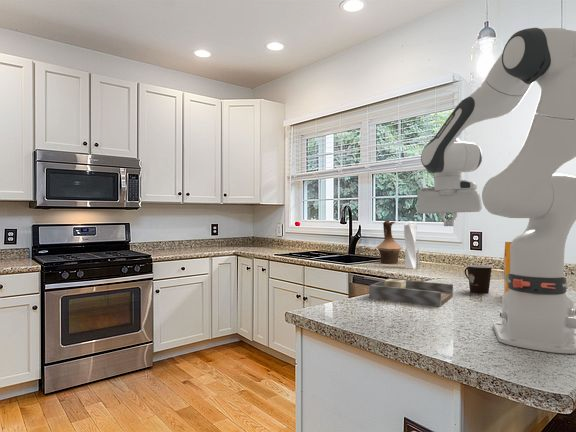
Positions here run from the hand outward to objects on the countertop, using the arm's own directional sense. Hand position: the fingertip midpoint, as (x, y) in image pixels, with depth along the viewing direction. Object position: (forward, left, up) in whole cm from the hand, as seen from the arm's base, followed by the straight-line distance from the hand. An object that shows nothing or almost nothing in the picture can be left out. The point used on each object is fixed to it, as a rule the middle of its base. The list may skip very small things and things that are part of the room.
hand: (448, 226), depth 130 cm
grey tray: (0, +13, -26) cm, 29 cm away
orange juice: (+21, -19, -26) cm, 38 cm away
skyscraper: (+86, +38, -26) cm, 97 cm away
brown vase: (+106, +58, -26) cm, 123 cm away
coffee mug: (+27, -5, -26) cm, 38 cm away
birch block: (0, +19, -24) cm, 30 cm away
